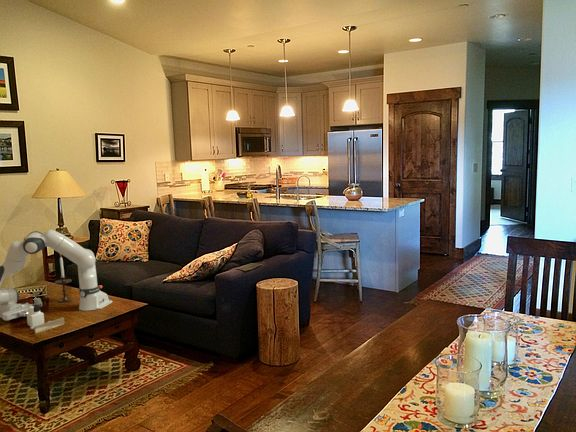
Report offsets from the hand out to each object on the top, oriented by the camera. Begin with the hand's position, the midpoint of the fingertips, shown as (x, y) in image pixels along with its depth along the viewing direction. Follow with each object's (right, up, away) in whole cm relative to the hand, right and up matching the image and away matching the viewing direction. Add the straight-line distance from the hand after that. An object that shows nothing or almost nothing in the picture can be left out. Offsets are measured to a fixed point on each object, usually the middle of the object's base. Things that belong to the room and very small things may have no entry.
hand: (26, 314), depth 297 cm
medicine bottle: (+8, -6, -4) cm, 11 cm away
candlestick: (+4, +1, +43) cm, 43 cm away
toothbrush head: (-15, -1, +38) cm, 41 cm away
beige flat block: (+16, -6, -9) cm, 19 cm away
